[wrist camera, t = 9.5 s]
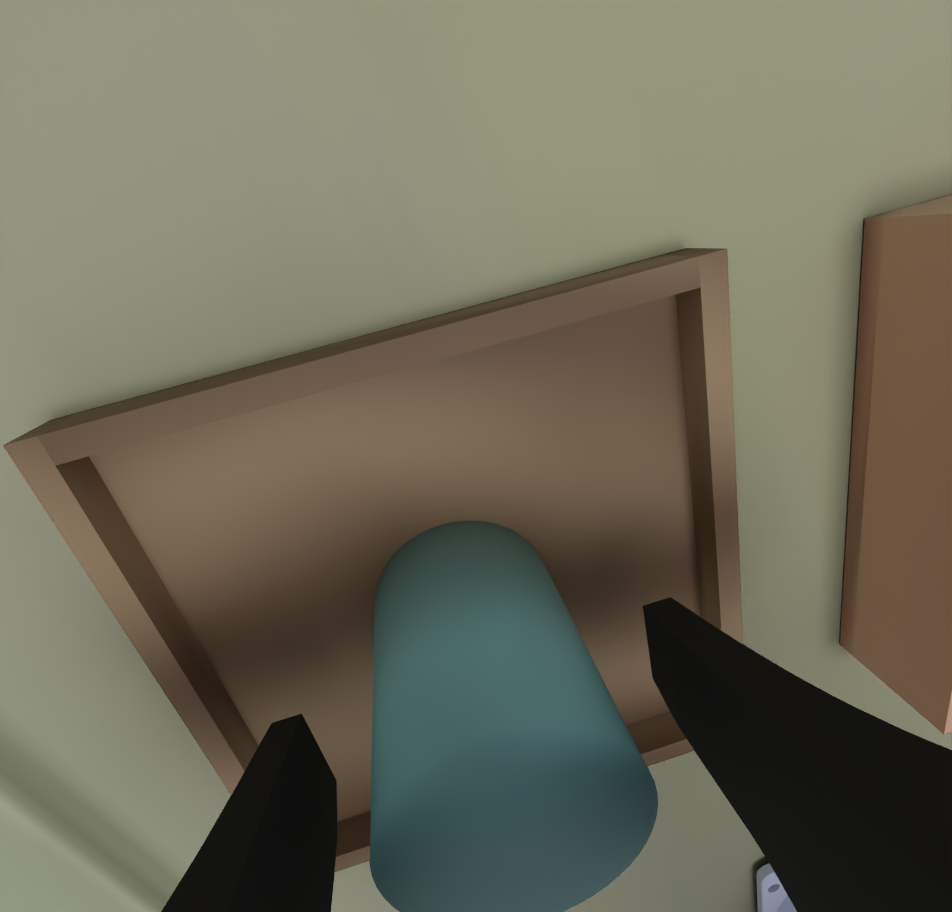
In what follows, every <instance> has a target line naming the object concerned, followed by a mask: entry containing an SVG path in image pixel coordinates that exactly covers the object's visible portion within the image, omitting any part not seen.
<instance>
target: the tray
mask: <svg viewBox="0 0 952 912" xmlns="http://www.w3.org/2000/svg"><path fill="white" fill-rule="evenodd" d="M3 446H4V448H5V449H6V451H7V452H8V454H9V455H10V457H11V458H12V460H13V461H14V463H15V465H16V466H17V468H18V469H19V471H20V472H21V474H22V475H23V477H24V478H25V480H26V481H27V483H28V484H29V486H30V487H31V489H32V491H33V492H34V494H35V495H36V497H37V498H38V500H39V501H40V503H41V504H42V506H43V507H44V509H45V510H46V512H47V514H48V515H49V517H50V518H51V520H52V521H53V523H54V524H55V526H56V527H57V529H58V530H59V532H60V533H61V535H62V536H63V538H64V540H65V541H66V543H67V544H68V546H69V547H70V549H71V550H72V552H73V553H74V555H75V556H76V558H77V559H78V561H79V562H80V564H81V566H82V567H83V569H84V570H85V572H86V573H87V575H88V576H89V578H90V579H91V581H92V582H93V584H94V585H95V587H96V588H97V590H98V592H99V593H100V595H101V596H102V598H103V599H104V601H105V602H106V604H107V605H108V607H109V608H110V610H111V611H112V613H113V614H114V616H115V618H116V619H117V621H118V622H119V624H120V625H121V627H122V628H123V630H124V631H125V633H126V634H127V636H128V637H129V639H130V641H131V642H132V644H133V645H134V647H135V648H136V650H137V651H138V653H139V654H140V656H141V657H142V659H143V660H144V662H145V663H146V665H147V667H148V668H149V670H150V671H151V673H152V674H153V676H154V677H155V679H156V680H157V682H158V683H159V685H160V686H161V688H162V689H163V691H164V693H165V694H166V696H167V697H168V699H169V700H170V702H171V703H172V705H173V706H174V708H175V709H176V711H177V712H178V714H179V715H180V717H181V719H182V720H183V722H184V723H185V725H186V726H187V728H188V729H189V731H190V732H191V734H192V735H193V737H194V738H195V740H196V741H197V743H198V745H199V746H200V748H201V749H202V751H203V752H204V754H205V755H206V757H207V758H208V760H209V761H210V763H211V764H212V766H213V767H214V769H215V771H216V772H217V774H218V775H219V777H220V778H221V780H222V781H223V783H224V784H225V786H226V787H227V789H228V790H229V792H230V794H231V795H232V793H233V791H234V789H235V788H236V786H237V784H238V782H239V780H240V779H241V777H242V775H243V773H244V771H245V770H246V768H247V766H248V764H249V762H250V761H251V759H252V757H253V755H254V753H255V751H256V750H257V748H258V746H259V744H260V742H261V741H262V739H263V737H264V735H265V734H266V732H267V730H268V728H269V727H270V725H271V723H273V722H276V721H279V720H283V719H286V718H289V717H292V716H295V715H298V714H302V715H303V717H304V719H305V721H306V722H307V724H308V726H309V728H310V730H311V732H312V734H313V736H314V738H315V740H316V742H317V744H318V746H319V748H320V750H321V751H322V753H323V755H324V757H325V759H326V761H327V763H328V765H329V767H330V769H331V771H332V773H333V775H334V777H335V778H336V780H337V849H336V860H335V871H334V872H337V871H340V870H343V869H346V868H349V867H351V866H354V865H357V864H360V863H363V862H366V861H369V860H370V822H371V769H372V717H373V665H374V612H375V592H376V587H377V583H378V580H379V578H380V575H381V573H382V571H383V569H384V567H385V566H386V564H387V563H388V561H389V560H390V559H391V557H392V556H393V555H394V554H395V553H396V552H397V551H398V550H399V549H400V548H401V547H402V546H403V545H404V544H406V543H407V542H408V541H410V540H411V539H413V538H414V537H416V536H417V535H419V534H421V533H423V532H425V531H427V530H429V529H432V528H434V527H437V526H440V525H444V524H448V523H452V522H460V521H482V522H490V523H494V524H498V525H501V526H504V527H506V528H509V529H511V530H513V531H514V532H516V533H518V534H520V535H521V536H522V537H524V538H525V539H526V540H527V541H528V542H529V543H530V544H531V545H532V546H533V547H534V548H535V549H536V551H537V552H538V553H539V555H540V557H541V559H542V561H543V563H544V565H545V567H546V568H547V570H548V572H549V574H550V576H551V578H552V580H553V582H554V584H555V586H556V588H557V590H558V592H559V594H560V596H561V598H562V600H563V602H564V604H565V606H566V608H567V610H568V612H569V614H570V616H571V618H572V620H573V622H574V624H575V626H576V628H577V630H578V632H579V634H580V635H581V637H582V639H583V641H584V643H585V645H586V647H587V649H588V651H589V653H590V655H591V657H592V659H593V661H594V663H595V665H596V667H597V669H598V671H599V673H600V675H601V677H602V679H603V681H604V683H605V685H606V687H607V689H608V691H609V693H610V695H611V697H612V699H613V701H614V702H615V704H616V706H617V708H618V710H619V712H620V714H621V716H622V718H623V720H624V722H625V724H626V726H627V728H628V730H629V732H630V734H631V736H632V738H633V740H634V742H635V744H636V746H637V748H638V750H639V752H640V754H641V756H642V758H643V760H644V762H645V764H646V766H650V765H653V764H656V763H659V762H662V761H665V760H667V759H670V758H673V757H676V756H679V755H682V754H685V753H688V752H691V751H694V749H693V748H692V746H691V745H690V743H689V742H688V740H687V739H686V737H685V736H684V734H683V733H682V731H681V730H680V728H679V727H678V725H677V723H676V721H675V719H674V718H673V716H672V714H671V712H670V710H669V708H668V707H667V705H666V703H665V701H664V699H663V697H662V695H661V693H660V691H659V689H658V688H657V686H656V684H655V682H654V680H653V678H652V671H651V664H650V656H649V649H648V642H647V634H646V627H645V620H644V612H643V606H644V605H647V604H650V603H653V602H656V601H660V600H663V599H666V598H669V597H671V598H673V599H674V600H676V601H678V602H679V603H681V604H682V605H684V606H685V607H687V608H688V609H690V610H691V611H693V612H694V613H696V614H697V615H699V616H700V617H701V618H703V619H705V620H706V621H708V622H709V623H711V624H712V625H714V626H715V627H717V628H718V629H720V630H721V631H723V632H724V633H726V634H727V635H729V636H731V637H732V638H734V639H735V640H737V641H738V642H740V643H742V644H743V635H742V610H741V585H740V560H739V535H738V509H737V484H736V459H735V434H734V408H733V383H732V358H731V333H730V308H729V283H728V257H727V249H705V248H686V249H682V250H679V251H675V252H671V253H667V254H664V255H660V256H656V257H653V258H649V259H645V260H642V261H638V262H634V263H630V264H627V265H623V266H619V267H616V268H612V269H608V270H605V271H601V272H597V273H593V274H590V275H586V276H582V277H579V278H575V279H571V280H568V281H564V282H560V283H556V284H553V285H549V286H545V287H542V288H538V289H534V290H531V291H527V292H523V293H519V294H516V295H512V296H508V297H505V298H501V299H497V300H494V301H490V302H486V303H482V304H479V305H475V306H471V307H468V308H464V309H460V310H457V311H453V312H449V313H445V314H442V315H438V316H434V317H431V318H427V319H423V320H420V321H416V322H412V323H408V324H405V325H401V326H397V327H394V328H390V329H386V330H383V331H379V332H375V333H371V334H368V335H364V336H360V337H357V338H353V339H349V340H345V341H342V342H338V343H334V344H331V345H327V346H323V347H320V348H316V349H312V350H308V351H305V352H301V353H297V354H294V355H290V356H286V357H283V358H279V359H275V360H271V361H268V362H264V363H260V364H257V365H253V366H249V367H246V368H242V369H238V370H234V371H231V372H227V373H223V374H220V375H216V376H212V377H209V378H205V379H201V380H197V381H194V382H190V383H186V384H183V385H179V386H175V387H172V388H168V389H164V390H160V391H157V392H153V393H149V394H146V395H142V396H138V397H135V398H131V399H127V400H123V401H120V402H116V403H112V404H109V405H105V406H101V407H98V408H94V409H90V410H86V411H83V412H79V413H75V414H72V415H68V416H64V417H61V418H57V419H53V420H50V421H48V422H46V423H44V424H43V425H41V426H39V427H37V428H35V429H33V430H31V431H29V432H27V433H26V434H24V435H22V436H20V437H18V438H16V439H14V440H12V441H11V442H9V443H7V444H5V445H3Z"/></svg>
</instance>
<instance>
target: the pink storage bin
mask: <svg viewBox="0 0 952 912" xmlns="http://www.w3.org/2000/svg"><path fill="white" fill-rule="evenodd" d="M840 645H841V646H842V647H843V648H845V649H846V650H847V651H848V652H849V653H850V654H852V655H853V656H854V657H855V658H856V659H857V660H858V661H860V662H861V663H862V664H863V665H864V666H865V667H867V668H868V669H869V670H870V671H871V672H872V673H874V674H875V675H876V676H877V677H878V678H879V679H880V680H882V681H883V682H884V683H885V684H886V685H887V686H889V687H890V688H891V689H892V690H893V691H894V692H896V693H897V694H898V695H899V696H900V697H901V698H902V699H904V700H905V701H906V702H907V703H908V704H909V705H911V706H912V707H913V708H914V709H915V710H916V711H918V712H919V713H920V714H921V715H922V716H923V717H924V718H926V719H927V720H928V721H929V722H930V723H931V724H933V725H934V726H935V727H936V728H937V729H938V730H940V731H941V732H942V733H943V734H946V733H949V732H952V195H949V196H946V197H942V198H938V199H935V200H931V201H927V202H924V203H920V204H916V205H913V206H909V207H905V208H902V209H898V210H894V211H891V212H887V213H883V214H880V215H876V216H872V217H869V218H865V224H864V241H863V258H862V275H861V292H860V310H859V327H858V344H857V361H856V378H855V396H854V413H853V430H852V447H851V464H850V482H849V499H848V516H847V533H846V550H845V568H844V585H843V602H842V619H841V636H840Z"/></svg>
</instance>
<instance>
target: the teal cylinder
mask: <svg viewBox="0 0 952 912" xmlns="http://www.w3.org/2000/svg"><path fill="white" fill-rule="evenodd" d="M657 808H658V798H657V790H656V786H655V782H654V780H653V778H652V776H651V774H650V772H649V769H648V768H647V766H646V764H645V762H644V760H643V758H642V756H641V754H640V752H639V750H638V748H637V746H636V744H635V742H634V740H633V738H632V736H631V734H630V732H629V730H628V728H627V726H626V724H625V722H624V720H623V718H622V716H621V714H620V712H619V710H618V708H617V706H616V704H615V702H614V701H613V699H612V697H611V695H610V693H609V691H608V689H607V687H606V685H605V683H604V681H603V679H602V677H601V675H600V673H599V671H598V669H597V667H596V665H595V663H594V661H593V659H592V657H591V655H590V653H589V651H588V649H587V647H586V645H585V643H584V641H583V639H582V637H581V635H580V634H579V632H578V630H577V628H576V626H575V624H574V622H573V620H572V618H571V616H570V614H569V612H568V610H567V608H566V606H565V604H564V602H563V600H562V598H561V596H560V594H559V592H558V590H557V588H556V586H555V584H554V582H553V580H552V578H551V576H550V574H549V572H548V570H547V568H546V567H545V565H544V563H543V561H542V559H541V557H540V555H539V553H538V552H537V551H536V549H535V548H534V547H533V546H532V545H531V544H530V543H529V542H528V541H527V540H526V539H525V538H524V537H522V536H521V535H520V534H518V533H516V532H514V531H513V530H511V529H509V528H506V527H504V526H501V525H498V524H494V523H490V522H482V521H460V522H452V523H448V524H444V525H440V526H437V527H434V528H432V529H429V530H427V531H425V532H423V533H421V534H419V535H417V536H416V537H414V538H413V539H411V540H410V541H408V542H407V543H406V544H404V545H403V546H402V547H401V548H400V549H399V550H398V551H397V552H396V553H395V554H394V555H393V556H392V557H391V559H390V560H389V561H388V563H387V564H386V566H385V567H384V569H383V571H382V573H381V575H380V578H379V580H378V583H377V587H376V592H375V612H374V665H373V717H372V769H371V822H370V868H371V873H372V877H373V879H374V882H375V884H376V887H377V888H378V890H379V891H380V893H381V894H382V896H383V897H384V898H385V899H386V900H387V901H388V902H389V903H390V904H391V905H392V906H393V907H394V908H396V909H397V910H399V911H400V912H563V911H565V910H567V909H569V908H571V907H573V906H575V905H577V904H579V903H581V902H583V901H584V900H586V899H588V898H590V897H591V896H593V895H594V894H596V893H597V892H599V891H600V890H602V889H603V888H605V887H606V886H607V885H608V884H610V883H611V882H612V881H613V880H615V879H616V878H617V877H618V876H619V875H620V874H621V873H622V872H623V871H624V870H625V869H626V868H627V867H628V866H629V865H630V864H631V863H632V862H633V860H634V859H635V858H636V857H637V856H638V854H639V853H640V851H641V850H642V848H643V847H644V845H645V844H646V842H647V840H648V838H649V836H650V834H651V832H652V829H653V826H654V823H655V820H656V815H657Z"/></svg>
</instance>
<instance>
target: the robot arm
mask: <svg viewBox="0 0 952 912" xmlns="http://www.w3.org/2000/svg"><path fill="white" fill-rule="evenodd" d="M643 612H644V620H645V627H646V634H647V642H648V649H649V656H650V664H651V671H652V678H653V680H654V682H655V684H656V686H657V688H658V689H659V691H660V693H661V695H662V697H663V699H664V701H665V703H666V705H667V707H668V708H669V710H670V712H671V714H672V716H673V718H674V719H675V721H676V723H677V725H678V727H679V728H680V730H681V731H682V733H683V734H684V736H685V737H686V739H687V740H688V742H689V743H690V745H691V746H692V748H693V749H694V751H695V752H696V753H697V755H698V756H699V758H700V759H701V761H702V762H703V764H704V765H705V767H706V768H707V770H708V771H709V773H710V774H711V776H712V777H713V779H714V780H715V782H716V783H717V785H718V786H719V787H720V789H721V790H722V792H723V793H724V795H725V796H726V798H727V799H728V801H729V802H730V804H731V805H732V807H733V808H734V810H735V811H736V813H737V814H738V815H739V817H740V818H741V820H742V821H743V823H744V824H745V826H746V827H747V829H748V830H749V832H750V833H751V835H752V836H753V838H754V839H755V841H756V843H757V844H758V846H759V847H760V849H761V851H762V852H763V854H764V855H765V857H766V858H767V860H768V862H769V863H768V864H766V865H764V866H762V867H761V868H760V869H759V870H758V871H757V906H758V912H952V750H950V749H947V748H945V747H942V746H940V745H937V744H935V743H933V742H930V741H928V740H925V739H923V738H921V737H918V736H916V735H914V734H911V733H909V732H907V731H905V730H902V729H900V728H898V727H896V726H893V725H891V724H889V723H887V722H885V721H883V720H881V719H879V718H877V717H874V716H872V715H870V714H868V713H866V712H864V711H862V710H860V709H858V708H855V707H853V706H851V705H849V704H847V703H846V702H844V701H842V700H840V699H838V698H836V697H834V696H832V695H830V694H828V693H826V692H824V691H823V690H821V689H819V688H817V687H815V686H813V685H812V684H810V683H808V682H806V681H804V680H802V679H801V678H799V677H797V676H795V675H794V674H792V673H790V672H788V671H787V670H785V669H783V668H781V667H780V666H778V665H776V664H775V663H773V662H771V661H770V660H768V659H766V658H765V657H763V656H761V655H760V654H758V653H756V652H755V651H753V650H751V649H750V648H748V647H746V646H745V645H743V644H742V643H740V642H738V641H737V640H735V639H734V638H732V637H731V636H729V635H727V634H726V633H724V632H723V631H721V630H720V629H718V628H717V627H715V626H714V625H712V624H711V623H709V622H708V621H706V620H705V619H703V618H701V617H700V616H699V615H697V614H696V613H694V612H693V611H691V610H690V609H688V608H687V607H685V606H684V605H682V604H681V603H679V602H678V601H676V600H674V599H673V598H671V597H669V598H666V599H663V600H660V601H656V602H653V603H650V604H647V605H644V606H643ZM336 849H337V780H336V778H335V777H334V775H333V773H332V771H331V769H330V767H329V765H328V763H327V761H326V759H325V757H324V755H323V753H322V751H321V750H320V748H319V746H318V744H317V742H316V740H315V738H314V736H313V734H312V732H311V730H310V728H309V726H308V724H307V722H306V721H305V719H304V717H303V715H302V714H298V715H295V716H292V717H289V718H286V719H283V720H279V721H276V722H273V723H271V725H270V727H269V728H268V730H267V732H266V734H265V735H264V737H263V739H262V741H261V742H260V744H259V746H258V748H257V750H256V751H255V753H254V755H253V757H252V759H251V761H250V762H249V764H248V766H247V768H246V770H245V771H244V773H243V775H242V777H241V779H240V780H239V782H238V784H237V786H236V788H235V789H234V791H233V793H232V795H231V797H230V798H229V800H228V802H227V804H226V805H225V807H224V809H223V811H222V812H221V814H220V816H219V818H218V819H217V821H216V823H215V825H214V826H213V828H212V830H211V831H210V833H209V835H208V837H207V838H206V840H205V842H204V844H203V845H202V847H201V849H200V850H199V852H198V854H197V855H196V857H195V859H194V860H193V862H192V863H191V865H190V867H189V868H188V870H187V871H186V873H185V875H184V876H183V878H182V879H181V881H180V883H179V884H178V886H177V887H176V889H175V891H174V892H173V894H172V895H171V897H170V899H169V900H168V902H167V903H166V905H165V907H164V908H163V910H162V911H161V912H331V903H332V893H333V882H334V871H335V860H336Z"/></svg>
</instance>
